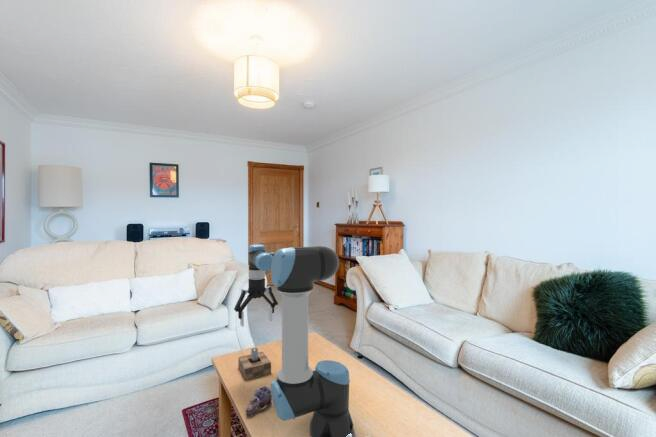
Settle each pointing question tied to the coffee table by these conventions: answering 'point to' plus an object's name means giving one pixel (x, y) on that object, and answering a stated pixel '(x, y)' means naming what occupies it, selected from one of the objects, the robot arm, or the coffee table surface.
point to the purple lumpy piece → (259, 400)
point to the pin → (254, 355)
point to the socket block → (254, 366)
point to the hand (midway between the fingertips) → (256, 322)
